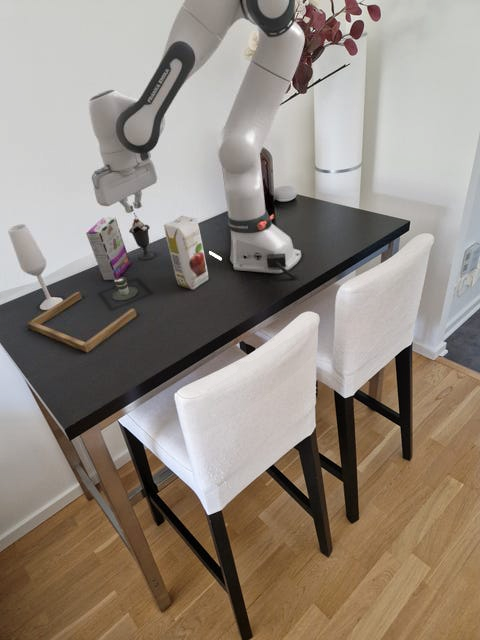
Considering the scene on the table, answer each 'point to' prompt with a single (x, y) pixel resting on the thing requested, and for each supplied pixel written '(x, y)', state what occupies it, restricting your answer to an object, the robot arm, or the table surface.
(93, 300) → the table surface
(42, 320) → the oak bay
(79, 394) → the table surface
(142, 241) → the sundae
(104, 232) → the candy bar box
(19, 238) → the champagne flute
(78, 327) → the table surface
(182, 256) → the juice carton
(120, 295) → the grey round stand
